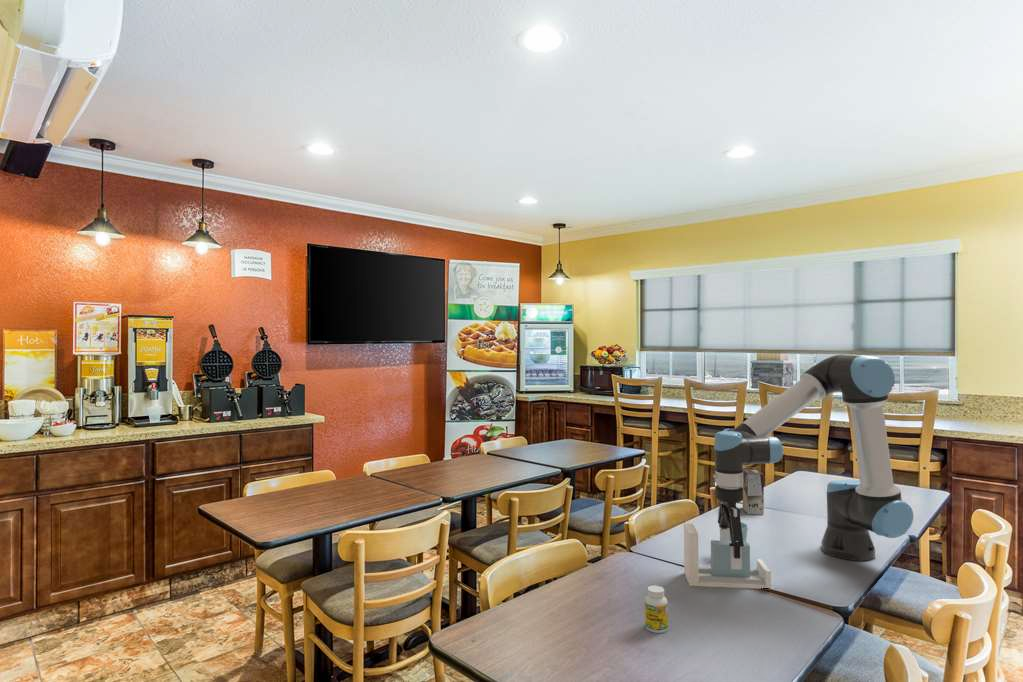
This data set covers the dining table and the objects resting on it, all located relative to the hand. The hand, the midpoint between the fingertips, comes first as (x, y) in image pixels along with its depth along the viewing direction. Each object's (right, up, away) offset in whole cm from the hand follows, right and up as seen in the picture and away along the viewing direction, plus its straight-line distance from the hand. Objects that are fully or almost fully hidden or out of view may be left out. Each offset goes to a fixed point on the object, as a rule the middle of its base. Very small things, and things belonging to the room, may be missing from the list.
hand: (730, 559), depth 169 cm
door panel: (0, -5, 0) cm, 5 cm away
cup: (+8, -6, +18) cm, 21 cm away
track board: (-1, -6, 0) cm, 6 cm away
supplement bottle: (-28, -7, -27) cm, 39 cm away
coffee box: (+34, -6, +66) cm, 74 cm away
